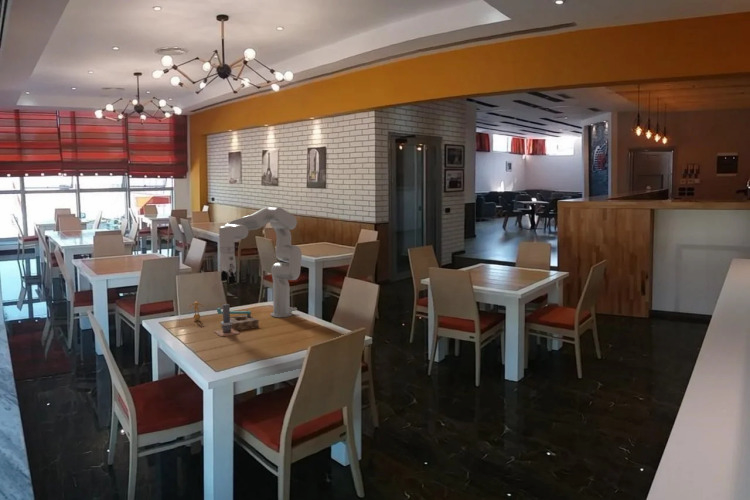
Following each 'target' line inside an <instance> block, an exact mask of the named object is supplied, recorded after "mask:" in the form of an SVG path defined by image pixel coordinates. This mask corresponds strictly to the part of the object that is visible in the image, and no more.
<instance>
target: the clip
mask: <svg viewBox="0 0 750 500" xmlns="http://www.w3.org/2000/svg"><path fill="white" fill-rule="evenodd" d="M216 312H217V314H220V315H223V310H222V309H221V307H218V308H216ZM240 314H241V315H247V314H252V311H251V310H237V311H236V310H230V315H240Z"/></svg>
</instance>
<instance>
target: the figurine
mask: <svg viewBox="0 0 750 500" xmlns="http://www.w3.org/2000/svg"><path fill="white" fill-rule="evenodd" d="M191 306H194V307H193V309H194V314H193V320H194V321H196V322H197V321H200V319H201V314H200V313H199V312H200V306H201V307H202V308H203V309H205V307H204V306H203V304H202V303H200V302H198V300H195V302H194V303H191V304H190V305H189V307H188V310H190V309H191ZM196 311H197V312H196Z"/></svg>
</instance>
